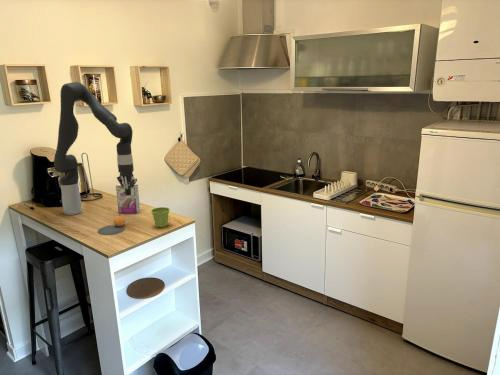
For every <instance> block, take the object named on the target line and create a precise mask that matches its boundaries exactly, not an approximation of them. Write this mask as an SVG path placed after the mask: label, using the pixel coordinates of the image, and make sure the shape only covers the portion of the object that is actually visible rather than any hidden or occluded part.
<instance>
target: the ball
mask: <svg viewBox="0 0 500 375" xmlns="http://www.w3.org/2000/svg"><path fill="white" fill-rule="evenodd" d="M125 223H126V218H125V217H124V216H122V215H116V216H115V218H114V219H113V225H116V226H118V227H120V226H125Z"/></svg>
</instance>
